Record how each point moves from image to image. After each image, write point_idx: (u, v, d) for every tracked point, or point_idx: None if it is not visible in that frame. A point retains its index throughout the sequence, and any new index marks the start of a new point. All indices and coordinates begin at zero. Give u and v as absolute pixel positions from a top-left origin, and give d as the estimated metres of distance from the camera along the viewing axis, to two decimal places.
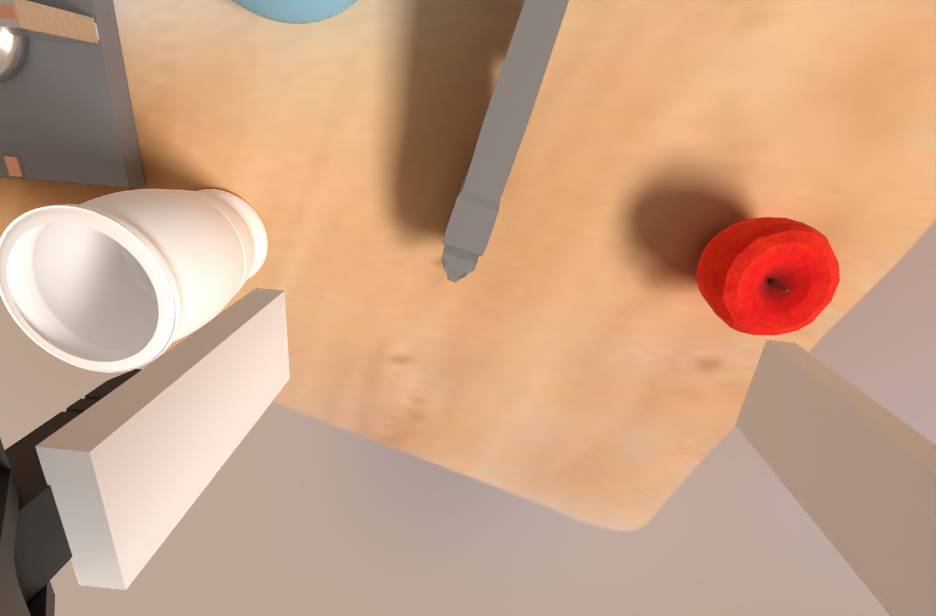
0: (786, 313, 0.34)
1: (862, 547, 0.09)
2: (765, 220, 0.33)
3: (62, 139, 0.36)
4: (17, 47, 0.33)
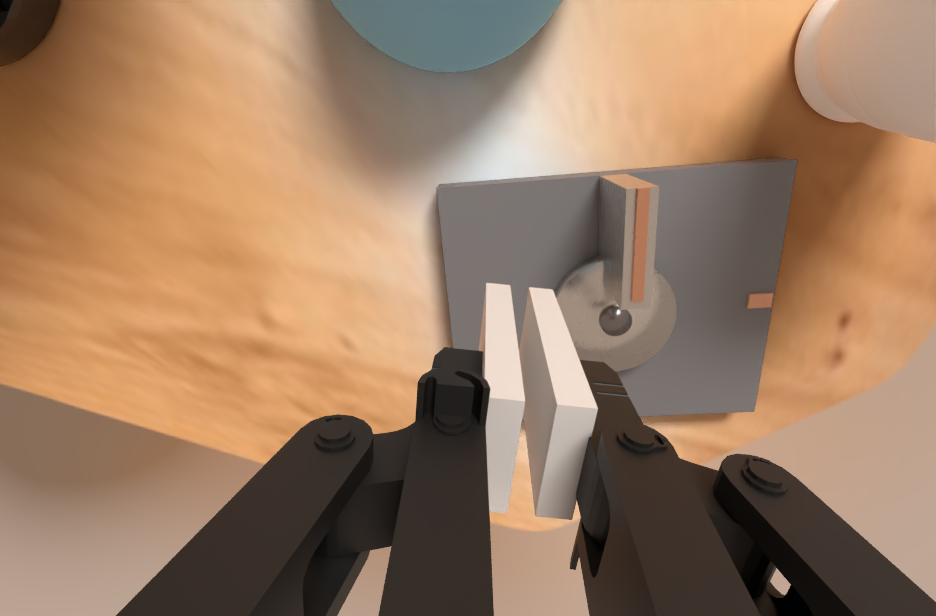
0: None
1: (531, 436, 0.11)
2: None
3: (731, 237, 0.30)
4: None
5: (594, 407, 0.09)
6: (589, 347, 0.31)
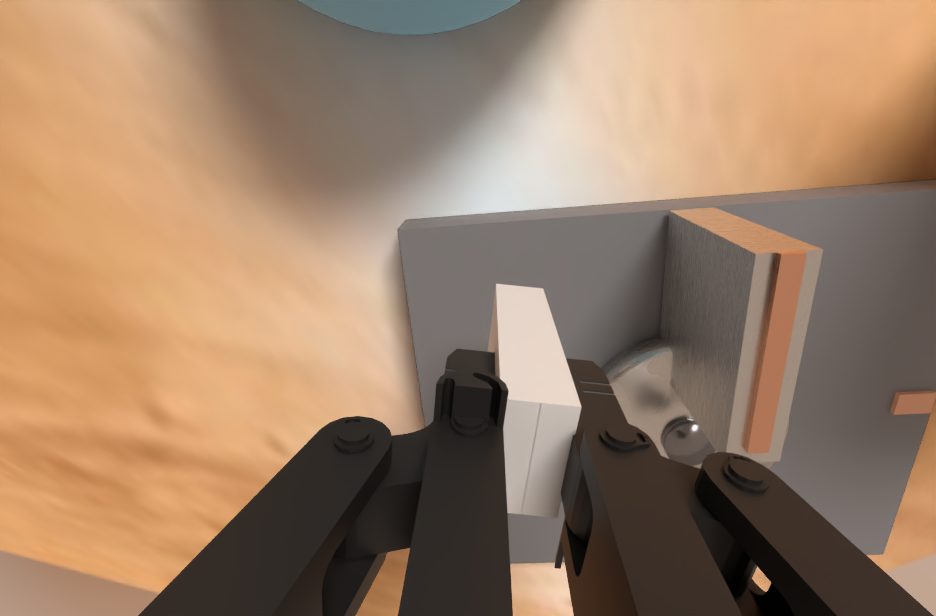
0: None
1: None
2: None
3: (877, 308, 0.18)
4: None
5: (577, 405, 0.09)
6: None
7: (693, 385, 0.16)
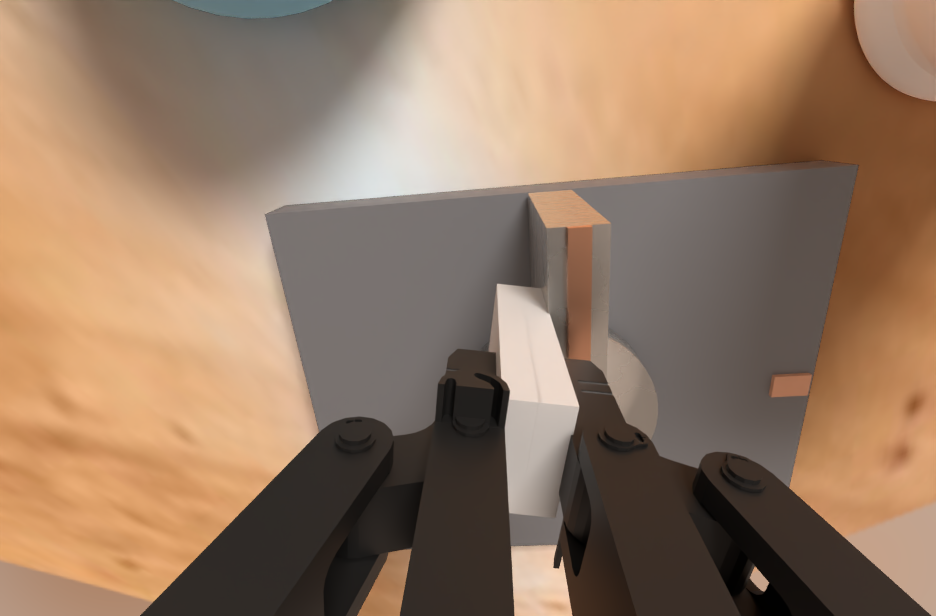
0: None
1: None
2: None
3: (745, 290, 0.19)
4: None
5: (574, 405, 0.09)
6: None
7: None
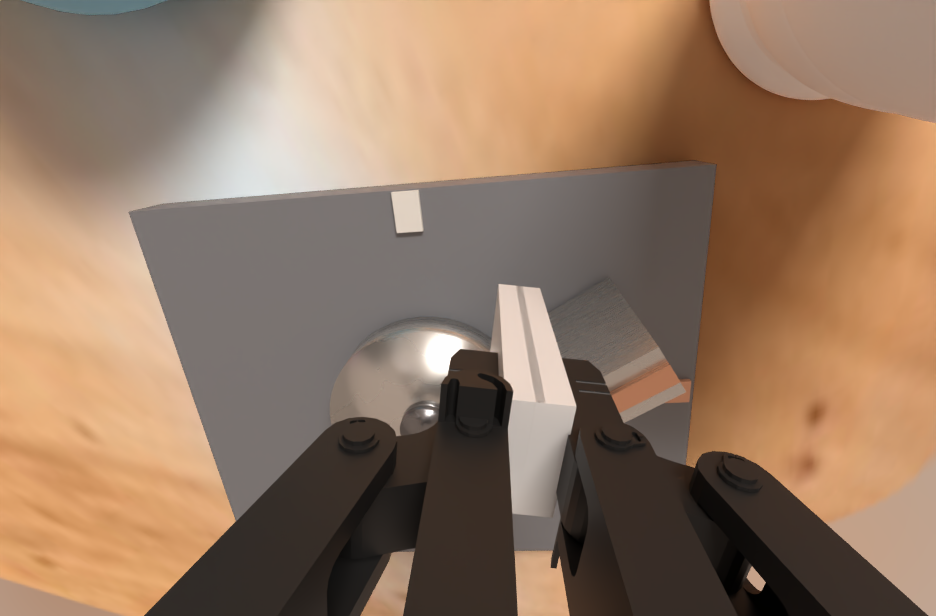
0: None
1: None
2: None
3: None
4: None
5: (572, 405, 0.09)
6: None
7: None
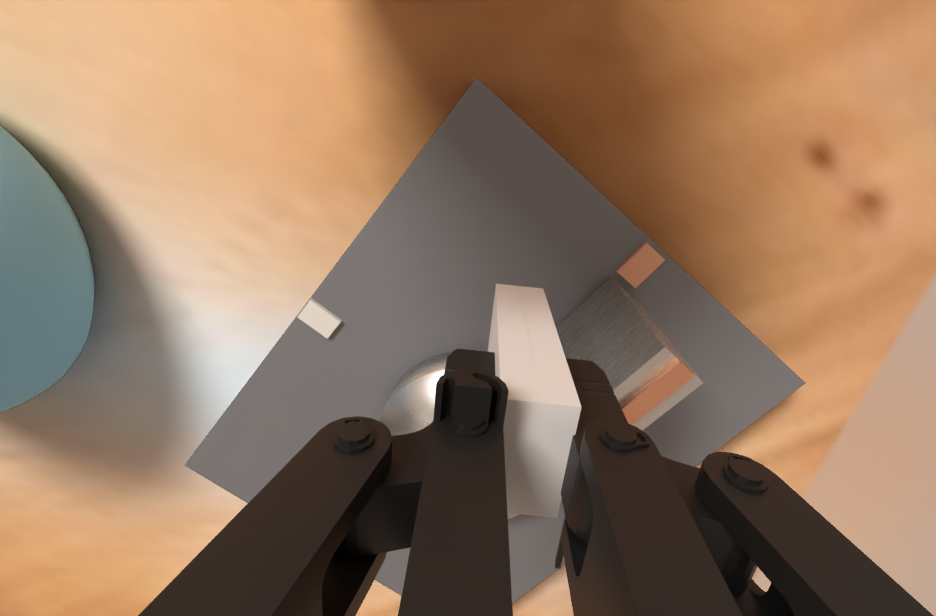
0: None
1: None
2: None
3: (511, 237, 0.18)
4: None
5: (577, 405, 0.09)
6: None
7: None
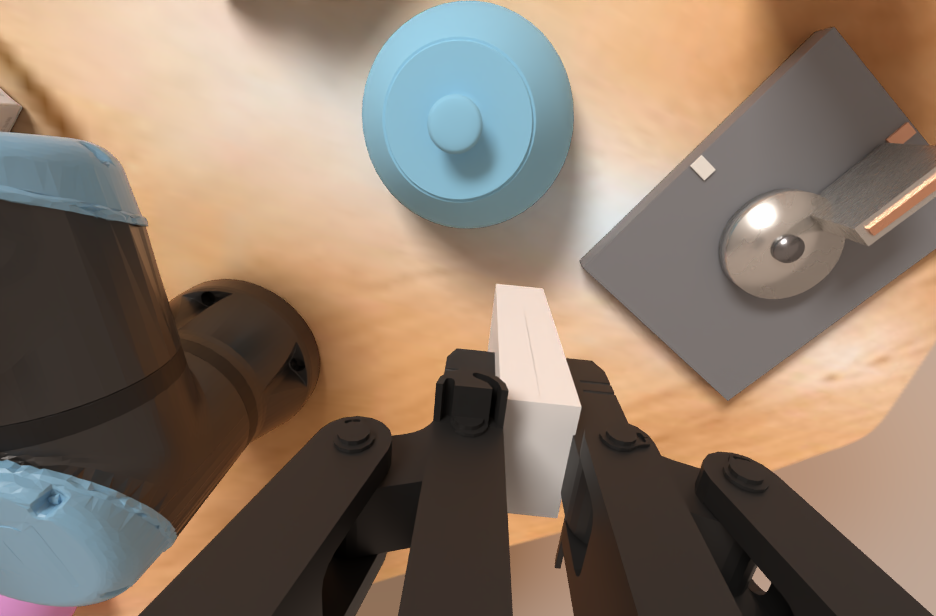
0: None
1: None
2: None
3: (829, 118, 0.32)
4: None
5: (577, 405, 0.09)
6: (747, 252, 0.34)
7: (843, 207, 0.31)
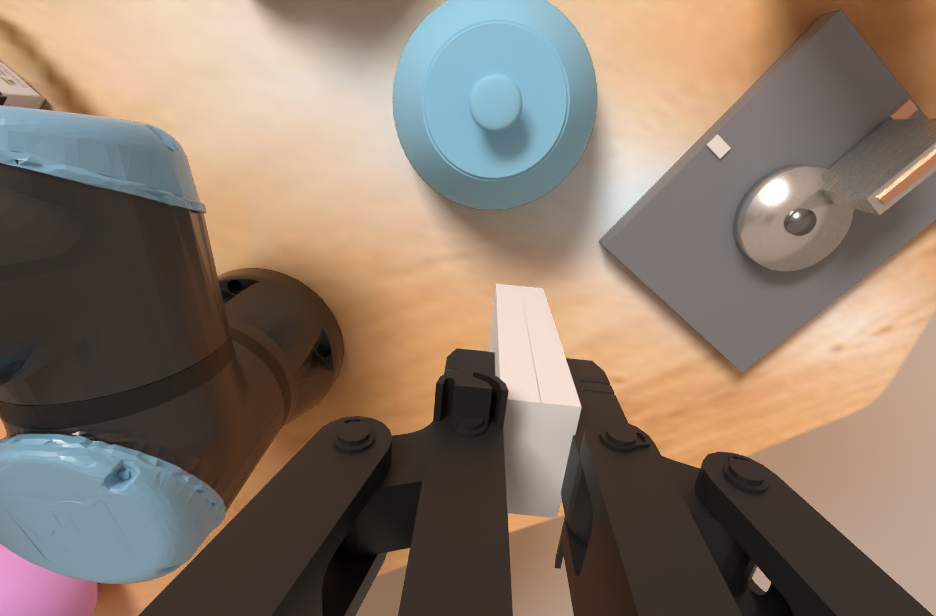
0: None
1: None
2: None
3: (837, 97, 0.34)
4: None
5: (577, 405, 0.09)
6: (762, 227, 0.36)
7: (854, 180, 0.32)
